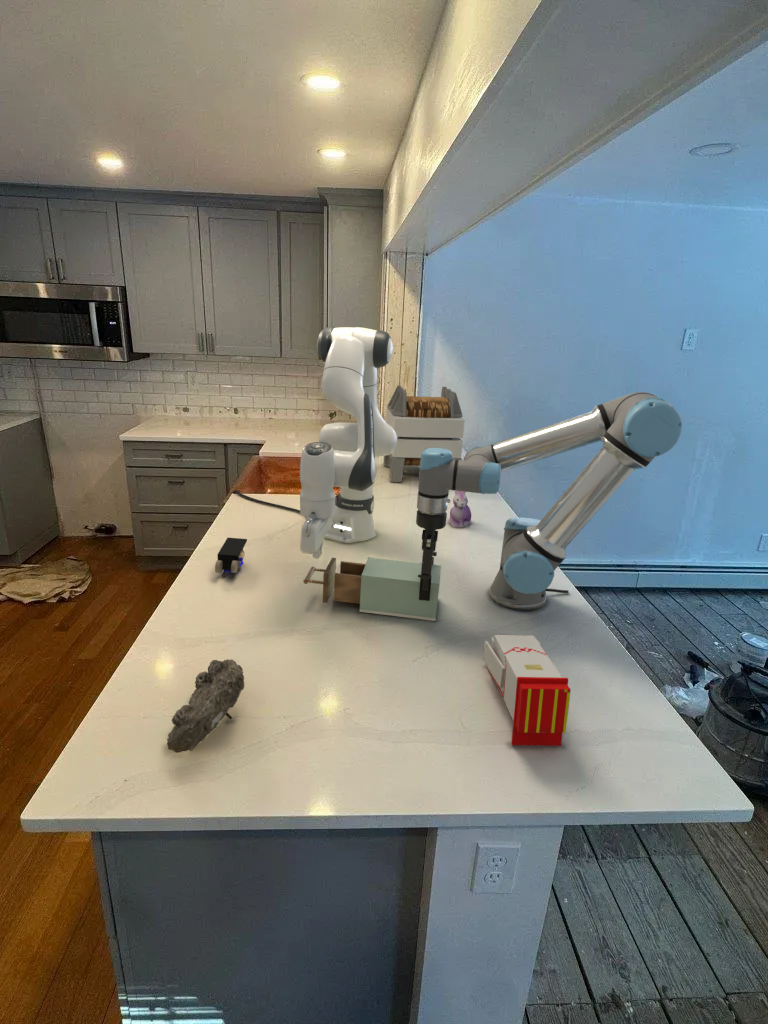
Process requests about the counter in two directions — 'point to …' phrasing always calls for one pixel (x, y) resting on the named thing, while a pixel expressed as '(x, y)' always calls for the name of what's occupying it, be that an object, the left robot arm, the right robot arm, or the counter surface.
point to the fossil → (206, 705)
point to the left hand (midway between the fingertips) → (317, 556)
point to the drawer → (340, 581)
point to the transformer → (422, 428)
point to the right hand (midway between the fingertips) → (425, 589)
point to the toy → (529, 689)
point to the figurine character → (230, 556)
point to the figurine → (460, 510)
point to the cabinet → (397, 589)
